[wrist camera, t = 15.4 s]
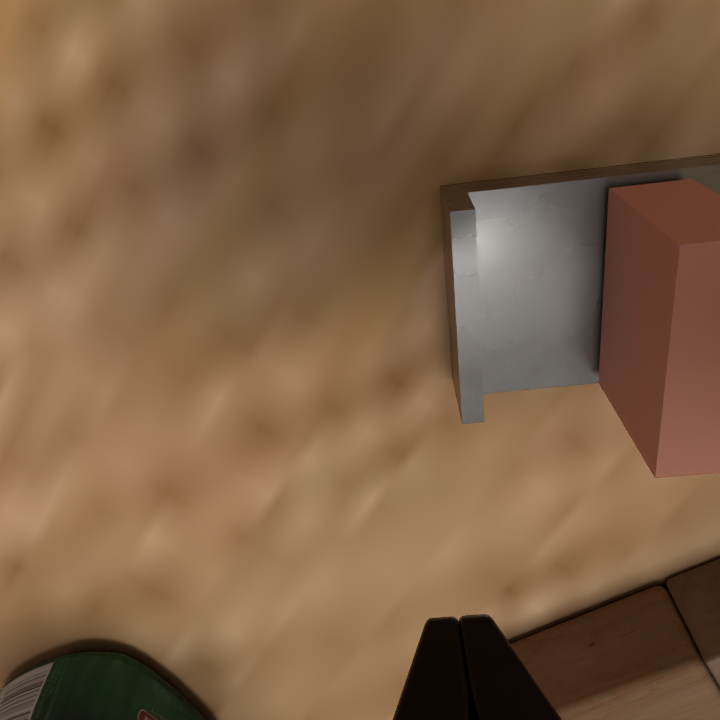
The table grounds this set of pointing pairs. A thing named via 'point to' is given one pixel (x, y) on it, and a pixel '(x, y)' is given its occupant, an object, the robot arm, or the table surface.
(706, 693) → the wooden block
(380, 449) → the table surface
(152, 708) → the coffee jar
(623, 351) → the block
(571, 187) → the vise
